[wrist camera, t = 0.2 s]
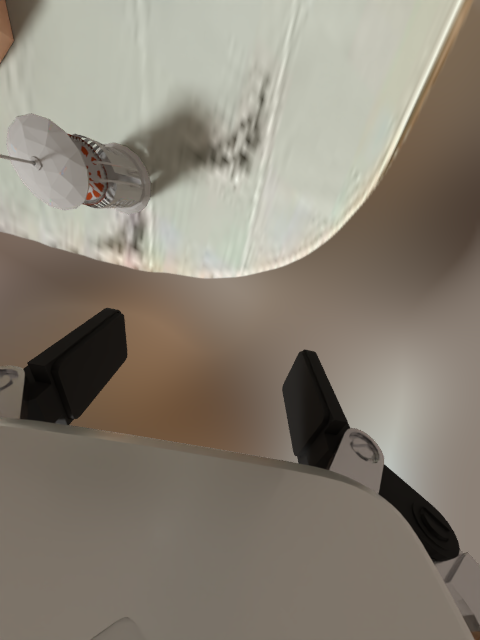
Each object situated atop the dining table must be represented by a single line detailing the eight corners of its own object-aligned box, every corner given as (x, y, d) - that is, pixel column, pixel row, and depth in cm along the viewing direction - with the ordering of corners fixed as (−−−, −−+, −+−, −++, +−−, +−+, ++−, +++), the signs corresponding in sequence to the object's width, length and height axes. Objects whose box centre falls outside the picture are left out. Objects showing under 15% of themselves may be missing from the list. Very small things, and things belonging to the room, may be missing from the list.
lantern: (82, 140, 30) (-334, -27, 9) (157, 145, 30) (-76, -10, 9) (101, 212, 35) (-134, 220, 14) (165, 217, 35) (31, 232, 14)
